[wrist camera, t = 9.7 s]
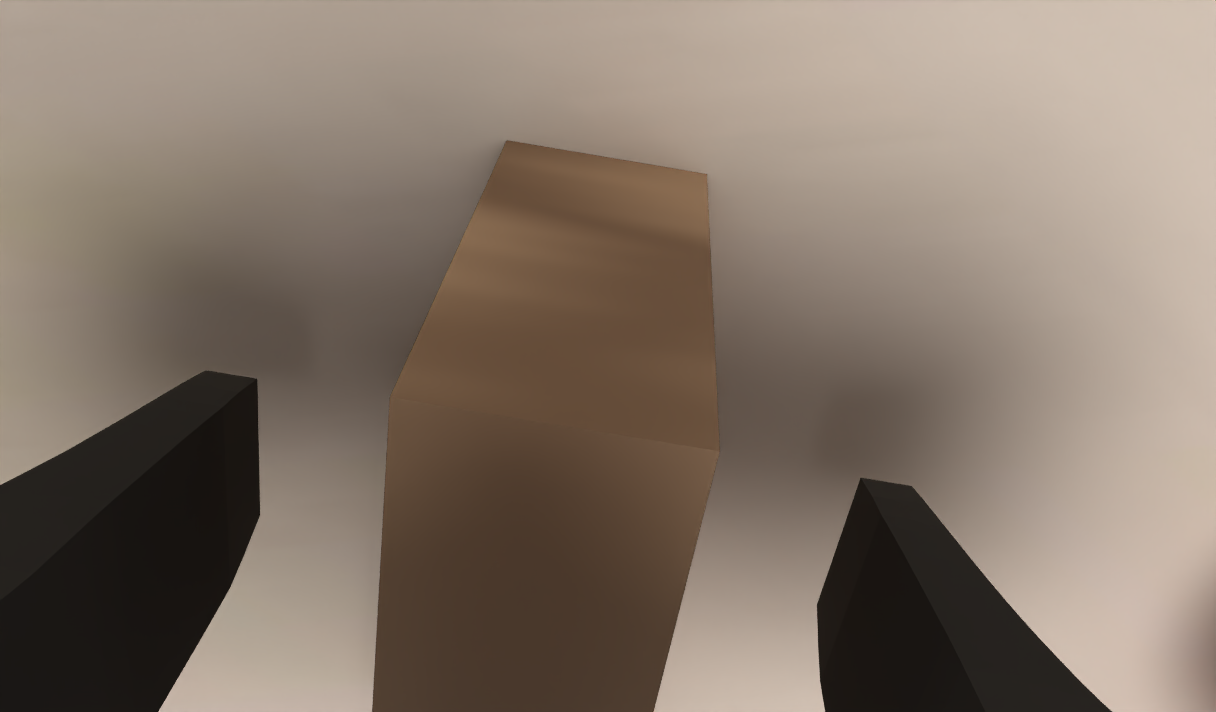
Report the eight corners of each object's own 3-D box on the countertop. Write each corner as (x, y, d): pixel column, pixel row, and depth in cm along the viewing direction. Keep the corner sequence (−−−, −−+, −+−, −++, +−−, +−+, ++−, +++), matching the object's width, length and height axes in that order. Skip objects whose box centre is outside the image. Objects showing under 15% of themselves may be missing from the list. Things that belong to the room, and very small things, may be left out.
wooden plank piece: (447, 693, 18) (352, 1074, 13) (507, 137, 13) (389, 397, 8) (591, 715, 18) (553, 1105, 13) (706, 171, 13) (719, 450, 8)
